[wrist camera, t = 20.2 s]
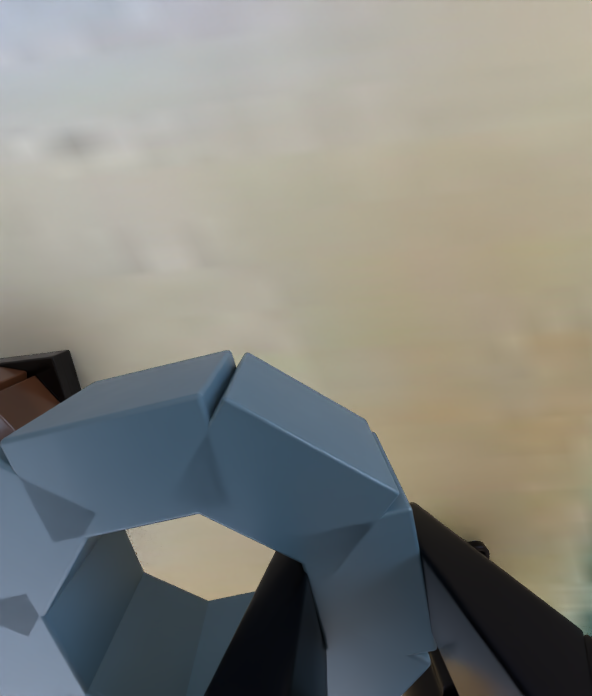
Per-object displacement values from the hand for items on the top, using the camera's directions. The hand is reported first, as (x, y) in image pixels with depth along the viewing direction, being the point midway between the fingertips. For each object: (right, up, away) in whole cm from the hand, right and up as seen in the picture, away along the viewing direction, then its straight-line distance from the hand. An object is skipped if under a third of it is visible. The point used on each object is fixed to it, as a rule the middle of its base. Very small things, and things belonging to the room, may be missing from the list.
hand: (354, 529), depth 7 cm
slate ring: (-3, 0, +1) cm, 3 cm away
